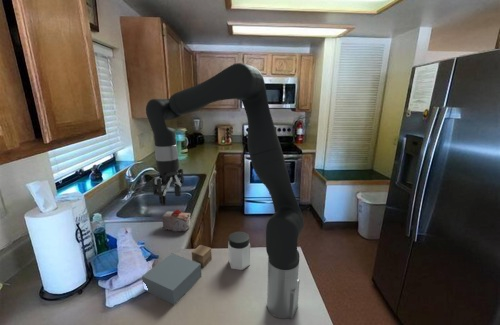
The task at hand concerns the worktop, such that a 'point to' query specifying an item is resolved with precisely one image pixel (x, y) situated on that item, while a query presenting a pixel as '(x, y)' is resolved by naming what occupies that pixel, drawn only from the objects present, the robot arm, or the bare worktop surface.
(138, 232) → the worktop surface
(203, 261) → the walnut cube
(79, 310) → the worktop surface
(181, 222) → the food item
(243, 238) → the jar
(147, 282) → the slate block
